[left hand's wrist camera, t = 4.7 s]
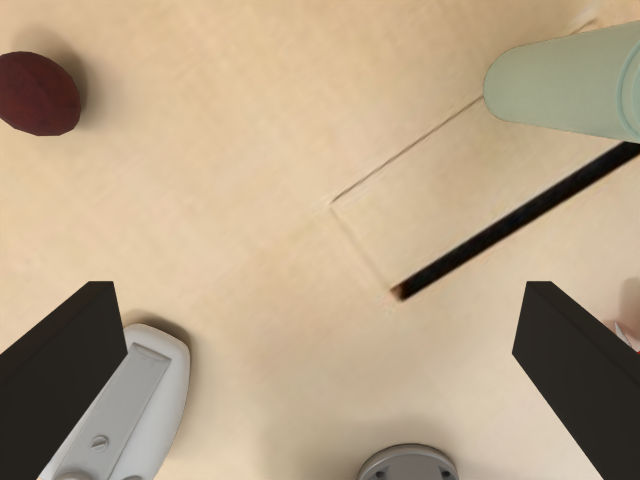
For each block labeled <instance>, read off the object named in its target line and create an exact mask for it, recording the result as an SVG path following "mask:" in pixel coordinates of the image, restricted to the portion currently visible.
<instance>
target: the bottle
mask: <svg viewBox="0 0 640 480" xmlns="http://www.w3.org/2000/svg"><path fill="white" fill-rule="evenodd" d="M483 95H484V100H485V103H486V105H487V107H488V109H489V111H490V112H491V113H492V114H493V115H494V116H496V117H497V118H499V119H501V120H504V121H508V122H514V123H520V124H526V125H532V126H538V127H544V128H550V129H556V130H562V131H568V132H574V133H580V134H586V135H592V136H598V137H605V138H611V139H617V140H623V141H629V142H635V143H640V20H637V21H633V22H628V23H624V24H619V25H615V26H610V27H606V28H601V29H597V30H592V31H587V32H583V33H578V34H574V35H569V36H565V37H560V38H556V39H551V40H547V41H542V42H538V43H533V44H528V45H524V46H519V47H515V48H512V49H510V50H508V51H506V52H505V53H503V54H502V55H501V56H499V57H498V58H497V59H496V60H495V61H494V63H493V64H492V65H491V67H490V69H489V70H488V72H487V74H486V77H485V81H484V87H483Z"/></svg>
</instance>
